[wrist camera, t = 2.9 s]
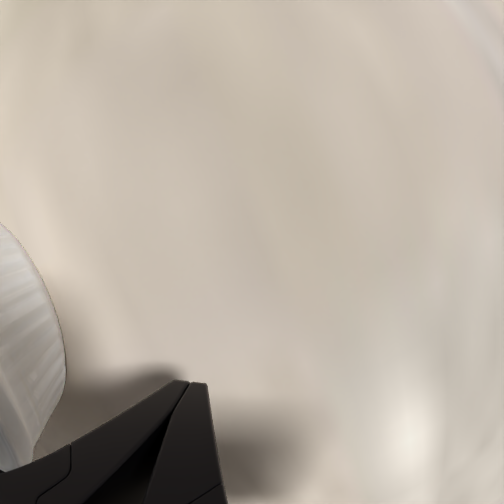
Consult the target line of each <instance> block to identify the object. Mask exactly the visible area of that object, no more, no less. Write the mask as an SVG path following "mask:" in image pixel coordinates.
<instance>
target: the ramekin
mask: <svg viewBox="0 0 504 504" xmlns="http://www.w3.org/2000/svg"><path fill="white" fill-rule="evenodd" d="M65 374H66V366H65V350H64V344H63V338H62V333H61V329H60V325H59V322H58V318H57V315H56V312H55V309H54V306H53V304H52V301H51V298H50V296H49V293H48V291H47V289H46V287H45V284H44V282H43V280H42V278H41V276H40V274H39V272H38V270H37V268H36V266H35V265H34V263H33V261H32V259H31V258H30V256H29V255H28V253H27V252H26V250H25V249H24V247H23V246H22V245H21V243H20V242H19V240H18V239H17V238H16V237H15V236H14V235H13V234H12V233H11V232H10V231H9V230H8V229H7V228H6V227H5V226H4V225H2V224H1V223H0V470H2V471H4V472H7V471H10V470H13V469H16V468H19V467H21V466H24V465H26V464H29V463H31V462H32V460H33V448H34V446H35V444H36V442H37V440H38V439H39V437H40V435H41V433H42V431H43V429H44V427H45V425H46V423H47V422H48V420H49V418H50V416H51V414H52V412H53V411H54V409H55V407H56V405H57V404H58V402H59V400H60V398H61V395H62V393H63V391H64V384H65V382H66V377H65Z"/></svg>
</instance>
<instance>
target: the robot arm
mask: <svg viewBox="0 0 504 504" xmlns="http://www.w3.org/2000/svg"><path fill="white" fill-rule="evenodd" d="M0 504H228V501H227V497H226V492H225V487H224V483H223V478H222V472H221V467H220V462H219V456H218V450H217V445H216V439H215V433H214V426H213V420H212V414H211V407H210V400H209V393H208V386H207V384H206V383H199V382H191V383H190V382H189V381H183V380H173V381H171V382H170V383H168V384H167V385H165V386H164V387H162V388H161V389H159V390H158V391H156V392H155V393H153V394H152V395H150V396H148V397H147V398H145V399H144V400H142V401H141V402H139V403H137V404H136V405H134V406H133V407H131V408H129V409H128V410H126V411H125V412H123V413H121V414H120V415H118V416H116V417H115V418H113V419H111V420H110V421H108V422H106V423H105V424H103V425H101V426H100V427H98V428H96V429H95V430H93V431H91V432H89V433H88V434H86V435H84V436H82V437H81V438H79V439H77V440H75V441H74V442H72V443H71V445H70V444H68V445H66V446H64V447H63V448H61V449H59V450H57V451H55V452H53V453H51V454H49V455H47V456H45V457H43V458H41V459H39V460H36V461H34V462H31V463H29V464H26V465H24V466H21V467H19V468H16V469H13V470H10V471H7V472H4V471H2V470H0Z"/></svg>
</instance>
